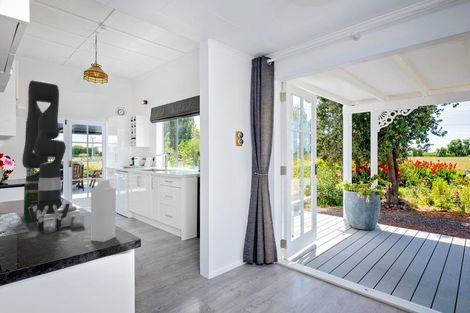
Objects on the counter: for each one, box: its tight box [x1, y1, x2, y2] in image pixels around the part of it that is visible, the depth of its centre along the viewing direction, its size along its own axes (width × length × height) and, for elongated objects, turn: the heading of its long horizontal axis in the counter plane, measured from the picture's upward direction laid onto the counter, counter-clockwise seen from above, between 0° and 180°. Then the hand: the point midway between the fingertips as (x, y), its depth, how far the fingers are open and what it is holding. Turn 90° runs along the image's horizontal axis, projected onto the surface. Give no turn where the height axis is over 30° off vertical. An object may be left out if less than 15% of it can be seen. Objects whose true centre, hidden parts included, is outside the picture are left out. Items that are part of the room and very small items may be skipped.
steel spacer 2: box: [70, 213, 85, 230], centre depth 113 cm, size 5×5×5 cm
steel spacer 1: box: [41, 218, 58, 234], centre depth 106 cm, size 5×5×5 cm
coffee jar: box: [23, 181, 39, 223], centre depth 124 cm, size 10×8×19 cm
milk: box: [90, 179, 117, 243], centre depth 97 cm, size 6×6×22 cm
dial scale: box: [36, 205, 81, 228], centre depth 118 cm, size 14×14×7 cm
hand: (49, 229), depth 106 cm, fingers closed on steel spacer 1, 5 cm apart
